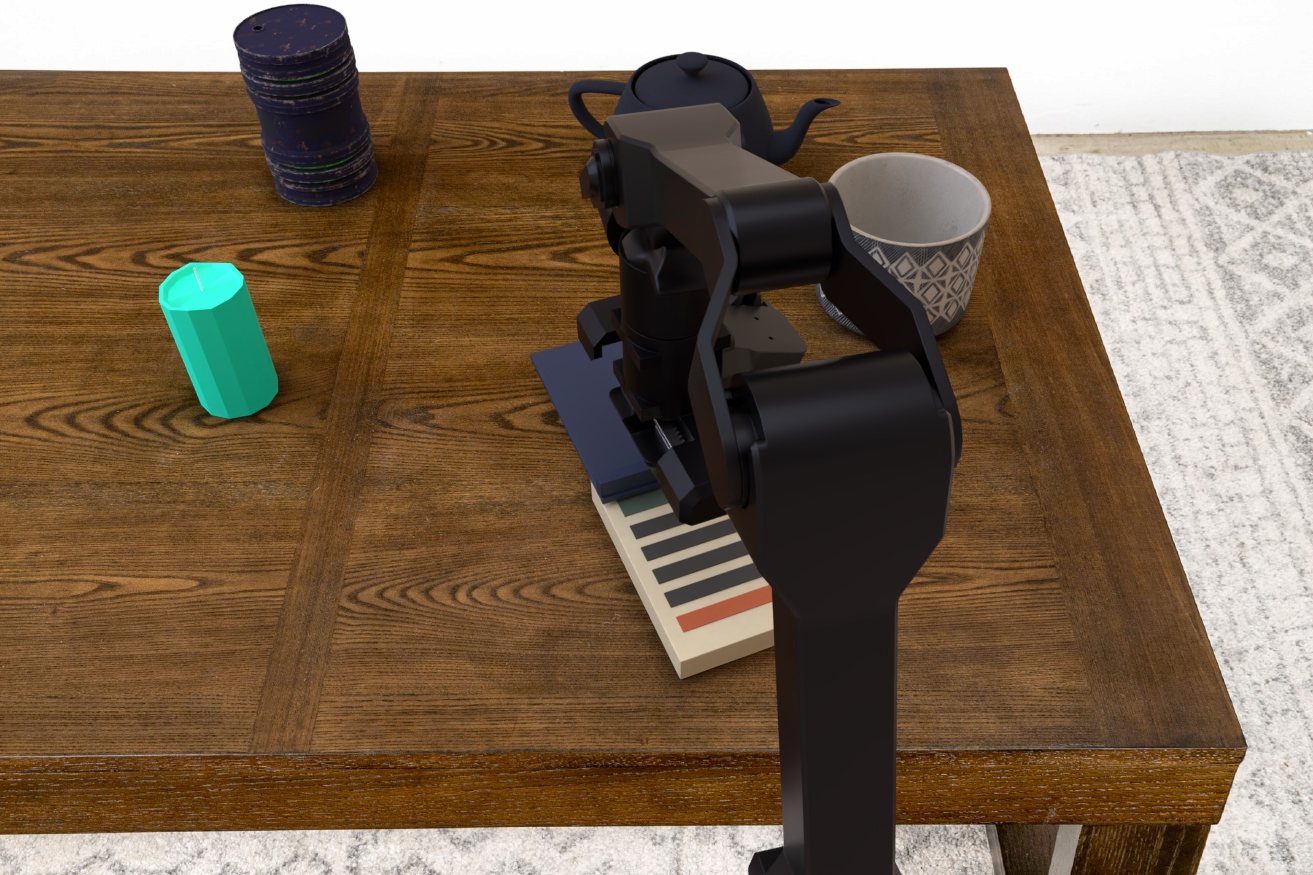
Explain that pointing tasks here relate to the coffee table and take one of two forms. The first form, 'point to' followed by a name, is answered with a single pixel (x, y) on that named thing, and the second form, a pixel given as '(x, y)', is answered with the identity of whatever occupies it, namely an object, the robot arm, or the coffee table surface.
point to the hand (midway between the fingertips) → (670, 486)
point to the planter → (917, 228)
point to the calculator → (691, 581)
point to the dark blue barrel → (307, 103)
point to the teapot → (702, 100)
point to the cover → (594, 418)
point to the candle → (219, 338)
